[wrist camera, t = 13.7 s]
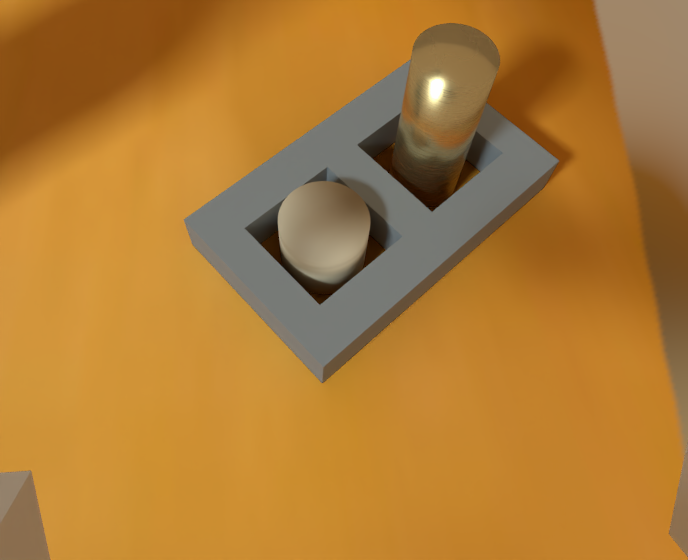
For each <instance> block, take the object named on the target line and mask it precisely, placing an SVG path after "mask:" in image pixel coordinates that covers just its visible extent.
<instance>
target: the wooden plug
mask: <svg viewBox="0 0 688 560" xmlns="http://www.w3.org/2000/svg"><path fill="white" fill-rule="evenodd" d="M278 231H279V242H280V252H281V262H282V266H283V268H284V269H285V270H286V271H287V272H288V273H289V274H290V275H291V276H292V277H293V278H294V279H295V280H296V281H297V282H298V283H299V284H300V285H301V286H302V287H303V288H304V289H305V290H306V291H308V292H311V293H315V294H332V293H335V292H336V291H337V290H339V289H340V288H341V287H342V286H343V285H345V284H346V283H347V282H348V281H350V280H351V279H352V278H353V277H354V276H356V275H357V274H358V273H359V272H360V271H362V269H363V266H364V261H365V255H366V249H367V243H368V237H369V231H370V214H369V210H368V208H367V206H366V204H365V202H364V201H363V199H362V198H361V197H360V196H359V195H358V194H357V193H356V192H355V191H354V190H352V189H350V188H349V187H347V186H345V185H342V184H339V183H336V182H330V181H317V182H311V183H308V184H305V185H302V186H300V187H298V188H297V189H295V190H294V191H292V192H291V193H290V194H289V195H288V196H287V197H286V198H285V200H284V201H283V203H282V205H281V207H280V210H279V213H278Z"/></svg>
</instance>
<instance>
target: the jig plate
mask: <svg viewBox="0 0 688 560" xmlns="http://www.w3.org/2000/svg"><path fill="white" fill-rule="evenodd" d="M410 61H411V60H409V61H408V62H406V63H405V64H404V65H402V66H401V67H399V68H398V69H397V70H395V71H394V72H392V73H391V74H389V75H388V76H387V77H385V78H384V79H382V80H381V81H380V82H378V83H377V84H375V85H374V86H372V87H371V88H370V89H368V90H367V91H365V92H364V93H363V94H361V95H360V96H358V97H357V98H355V99H354V100H353V101H351V102H350V103H348V104H347V105H346V106H344V107H343V108H341V109H340V110H338V111H337V112H336V113H334V114H333V115H331V116H330V117H329V118H327V119H326V120H324V121H323V122H321V123H320V124H319V125H317V126H316V127H314V128H313V129H312V130H310V131H309V132H307V133H306V134H304V135H303V136H302V137H300V138H299V139H297V140H296V141H295V142H293V143H292V144H290V145H289V146H287V147H286V148H285V149H283V150H282V151H280V152H279V153H278V154H276V155H275V156H273V157H272V158H270V159H269V160H268V161H266V162H265V163H263V164H262V165H261V166H259V167H258V168H256V169H255V170H253V171H252V172H251V173H249V174H248V175H246V176H245V177H244V178H242V179H241V180H239V181H238V182H236V183H235V184H234V185H232V186H231V187H229V188H228V189H227V190H225V191H224V192H222V193H221V194H219V195H218V196H217V197H215V198H214V199H212V200H211V201H210V202H208V203H207V204H205V205H204V206H202V207H201V208H200V209H198V210H197V211H195V212H194V213H193V214H191V215H190V216H188V217H187V218H185V219H184V222H185V225H186V227H187V230H188V233H189V236H190V239H191V242H192V244H193V246H194V247H195V248H196V249H197V250H198V251H199V252H200V253H201V254H202V255H203V256H204V257H205V258H206V259H207V260H208V262H209V263H210V264H211V265H212V266H213V267H214V268H215V269H216V270H217V271H218V272H219V273H220V274H221V275H222V277H223V278H224V279H225V280H226V281H227V282H228V283H229V284H230V285H231V286H232V287H233V288H234V289H235V290H236V292H237V293H238V294H239V295H240V296H241V297H242V298H243V299H244V300H245V301H246V302H247V303H248V304H249V305H250V306H251V308H252V309H253V310H254V311H255V312H256V313H257V314H258V315H259V316H260V317H261V318H262V319H263V320H264V321H265V323H266V324H267V325H268V326H269V327H270V328H271V329H272V330H273V331H274V332H275V333H276V334H277V335H278V336H279V337H280V339H281V340H282V341H283V342H284V343H285V344H286V345H287V346H288V347H289V348H290V349H291V350H292V351H293V352H294V354H295V355H296V356H297V357H298V358H299V359H300V360H301V361H302V362H303V363H304V364H305V365H306V366H307V367H308V369H309V370H310V371H311V372H312V373H313V374H314V375H315V376H316V377H317V378H318V379H319V380H320V381H321V382H322V383H323V382H324V381H326V380H327V379H328V378H329V377H330V376H331V375H332V374H334V373H335V372H336V371H337V370H338V369H339V368H340V367H341V366H343V365H344V364H345V363H346V362H347V361H348V360H349V359H350V358H352V357H353V356H354V355H355V354H356V353H357V352H358V351H360V350H361V349H362V348H363V347H364V346H365V345H366V344H367V343H369V342H370V341H371V340H372V339H373V338H374V337H375V336H376V335H378V334H379V333H380V332H381V331H382V330H383V329H384V328H385V327H387V326H388V325H389V324H390V323H391V322H392V321H393V320H395V319H396V318H397V317H398V316H399V315H400V314H401V313H402V312H404V311H405V310H406V309H407V308H408V307H409V306H410V305H411V304H413V303H414V302H415V301H416V300H417V299H418V298H419V297H421V296H422V295H423V294H424V293H425V292H426V291H427V290H428V289H430V288H431V287H432V286H433V285H434V284H435V283H436V282H437V281H439V280H440V279H441V278H442V277H443V276H444V275H445V274H447V273H448V272H449V271H450V270H451V269H452V268H453V267H454V266H456V265H457V264H458V263H459V262H460V261H461V260H462V259H463V258H465V257H466V256H467V255H468V254H469V253H470V252H471V251H473V250H474V249H475V248H476V247H477V246H478V245H479V244H480V243H482V242H483V241H484V240H485V239H486V238H487V237H488V236H489V235H491V234H492V233H493V232H494V231H495V230H496V229H497V228H499V227H500V226H501V225H502V224H503V223H504V222H505V221H506V220H508V219H509V218H510V217H511V216H512V215H513V214H514V213H515V212H517V211H518V210H519V209H520V208H521V207H522V206H523V205H525V204H526V203H527V202H528V201H529V200H530V199H531V198H532V197H534V196H535V195H536V194H537V193H538V192H539V191H540V190H541V189H543V188H544V186H545V184H546V183H547V181H548V179H549V178H550V176H551V174H552V173H553V171H554V169H555V167H556V166H557V164H558V162H559V160H558V159H556V158H555V157H554V156H553V155H551V154H550V153H549V152H548V151H546V150H545V149H544V148H543V147H541V146H540V145H539V144H538V143H536V142H535V141H534V140H533V139H531V138H530V137H529V136H528V135H526V134H525V133H524V132H523V131H521V130H520V129H519V128H518V127H516V126H515V125H514V124H513V123H511V122H510V121H509V120H507V119H506V118H505V117H504V116H502V115H501V114H500V113H499V112H497V111H496V110H495V109H494V108H492V107H491V106H490V105H489V104H487V103H486V104H485V107H484V110H483V113H482V116H481V118H480V121H479V124H478V127H477V129H476V132H475V135H474V138H473V140H472V143H471V146H470V149H469V151H468V154H467V157H466V160H467V161H469V162H470V163H471V164H472V165H473V166H474V167H476V168H477V169H478V170H479V171H480V173H478V174H477V175H476V176H475V177H474V178H472V179H471V180H470V181H469V182H468V183H466V184H465V185H464V186H463V187H462V188H460V189H459V190H458V191H457V192H456V193H454V194H453V195H452V196H451V197H450V198H448V199H447V200H446V201H445V202H444V203H442V204H441V205H440V206H439V207H437V208H436V209H435V210H434V211H433V212H432V211H430V210H429V209H428V208H427V207H426V206H425V205H424V204H423V203H421V202H420V201H419V200H418V199H417V198H416V197H415V196H414V195H413V194H411V193H410V192H409V191H408V190H407V189H406V188H405V187H404V186H402V185H401V184H400V183H399V182H398V181H397V180H396V179H395V178H393V177H392V176H391V175H390V174H389V173H388V172H387V171H386V170H384V169H383V168H382V167H381V166H380V165H379V164H378V163H377V162H375V161H374V160H373V158H374V157H376V156H377V155H378V154H380V153H381V152H382V151H384V150H385V149H386V148H387V147H389V146H390V145H391V144H393V143H394V142H395V141H396V135H397V130H398V125H399V119H400V114H401V109H402V104H403V98H404V93H405V88H406V82H407V77H408V72H409V66H410ZM317 181H330V182H336V183H339V184H342V185H345V186H347V187H349V188H350V189H352V190H354V191H355V192H356V193H357V194H358V195H359V196H360V197H361V198H362V199H363V201H364V202H365V204H366V206H367V208H368V210H369V214H370V231H369V234H370V235H371V236H372V237H373V238H374V239H375V240H376V241H377V242H378V243H379V244H380V245H381V246H382V247H383V248H384V249H385V250H386V251H384V252H383V253H382V254H381V255H380V256H378V257H377V258H376V259H375V260H374V261H372V262H371V263H370V264H369V265H368V266H366V267H365V268H364V269H363V270H362V271H360V272H359V273H358V274H357V275H356V276H354V277H353V278H352V279H351V280H350V281H348V282H347V283H346V284H345V285H343V286H342V287H341V288H340V289H339V290H337V291H336V292H335V293H334V294H333V295H331V296H330V297H329V298H328V299H327V300H325V301H324V302H323V303H322V304H321V305H319V304H318V303H317V302H316V301H315V300H314V299H313V298H312V297H311V296H310V295H309V294H308V292H307V291H306V290H305V289H304V288H303V287H302V286H301V285H300V284H299V283H298V282H297V281H296V280H295V279H294V278H293V277H292V276H291V275H290V274H289V273H288V272H287V271H286V270H285V269H284V268H283V267H282V266H281V265H280V264H279V263H278V262H277V261H276V260H275V259H274V258H273V257H272V256H271V255H270V254H269V253H268V252H267V251H266V250H265V249H264V248H263V247H262V246H261V245H260V244H261V243H262V242H263V241H265V240H266V239H267V238H269V237H270V236H271V235H273V234H274V233H275V232H277V231H278V213H279V210H280V207H281V205H282V203H283V201H284V200H285V198H286V197H287V196H288V195H289V194H290V193H291V192H292V191H294V190H295V189H297V188H298V187H300V186H302V185H305V184H308V183H311V182H317Z"/></svg>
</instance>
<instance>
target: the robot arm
mask: <svg viewBox="0 0 688 560" xmlns="http://www.w3.org/2000/svg"><path fill="white" fill-rule="evenodd" d="M669 534H670V536H671V537H672V538H673V539H674V541H675V542H676V543H677V544H678V546H679V547H680V548H681V549H682V551H683V552H684V553H685V554H686V556H687V557H688V442H687V447H686V452H685V457H684V462H683V467H682V472H681V477H680V481H679V486H678V491H677V496H676V501H675V506H674V511H673V516H672V521H671V526H670V530H669ZM0 560H50V556H49V551H48V547H47V542H46V538H45V533H44V528H43V524H42V519H41V514H40V510H39V505H38V500H37V496H36V491H35V486H34V482H33V477H32V472H31V471H21V472H6V473H0Z"/></svg>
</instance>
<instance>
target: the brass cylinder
mask: <svg viewBox="0 0 688 560" xmlns="http://www.w3.org/2000/svg"><path fill="white" fill-rule="evenodd" d="M499 65H500V56H499V52H498V49H497V47H496V45H495V44H494V43H493V41H492V40H491V39H490V38H489V37H488V36H487V35H485V34H484V33H482V32H481V31H479V30H477V29H475V28H473V27H470V26H467V25H462V24H455V23H447V24H440V25H436V26H433V27H431V28H429V29H427V30H425V31H424V32H423V33H421V34H420V35H419V36H418V38H417V39H416V41H415V43H414V46H413V50H412V56H411V61H410V66H409V72H408V77H407V82H406V88H405V93H404V98H403V104H402V109H401V114H400V119H399V125H398V130H397V135H396V141H395V146H394V151H393V157H392V162H391V167H390V173H389V174H390V175H391V176H392V177H393V178H395V179H396V180H397V181H398V182H399V183H400V184H401V185H402V186H404V187H405V188H406V189H407V190H408V191H409V192H410V193H411V194H413V195H414V196H415V197H416V198H417V199H418V200H419V201H420V202H421V203H423V204H424V205H425V206H426V207H432V206H436V205H439V204H441V203H443V202H445V201H446V200H447V199H448V198H450V197H451V195H452V194H453V192H454V190H455V187H456V184H457V182H458V179H459V176H460V173H461V171H462V168H463V165H464V162H465V160H466V157H467V154H468V151H469V149H470V146H471V143H472V140H473V138H474V135H475V132H476V129H477V127H478V124H479V121H480V118H481V116H482V113H483V110H484V107H485V104H486V102H487V99H488V96H489V93H490V91H491V88H492V85H493V82H494V80H495V77H496V74H497V71H498V69H499Z"/></svg>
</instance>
